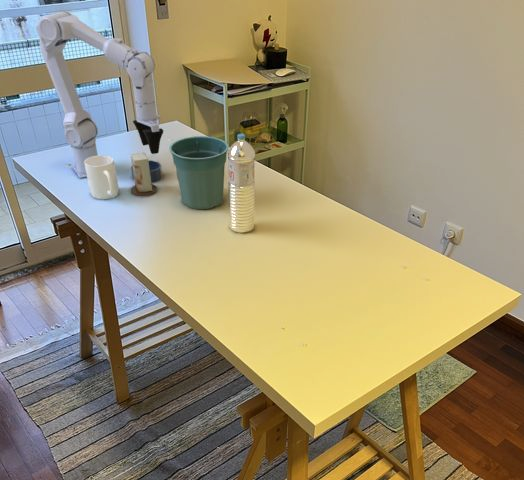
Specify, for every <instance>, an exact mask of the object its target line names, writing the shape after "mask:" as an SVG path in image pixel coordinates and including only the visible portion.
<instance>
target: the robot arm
mask: <svg viewBox="0 0 524 480" xmlns="http://www.w3.org/2000/svg"><path fill="white" fill-rule="evenodd" d="M36 31H37V35H38V36H39V49H40V53H41V55H42V58H43V60H44V63H45V66H46V68H47V70H48V73H49V76H50V78H51V81H52V84H53V87H54V89H55V91H56V95H57V97H58V99H59V102H60V105H61V106H62V109H63V112H64V118H63V121H62V127H63V131H64V138H65V140H66V142H67V143H68V144H69V145H70V147H71V151H72V155H73V160H74V163H75V165H73V166H72V169H73V170H74V171H75V174H77V176H78V178H79V179H83V178H87V173H86V168H85V163H84V161H85V160H86V159H87V158H89V157H93V156H99V154H98V149H97V144H96V142H97V139H96V137H97V136H98V134H99V129H98V125H97V124H96V122H95V121H94V120H93V118H92V116H91V114H90V112H88V111H87V110H85V109H84V108H83V105H82V102H81V100H80V97H79V94H78V91H77V89H76V86H75V84H74V81H73V78H72V75H71V73H70V70H69V67H68V64H67V61H66V59H65V56H64V54H63V51H64V49H65V47H66V45H67V43H68V42H69V41H70V40H75V39H78V40H79V41H81V42H83V43H85V44H87V45H89V46H91V47H93V48H95V49H97V50H99V51H101V52H103V54H104V57H105V59H106V60H108V61H109V62H111V63H113V64H114V65H117V66H118V67H120V68H121V69H123V70H124V71H126V72H127V74H128V76H129V77H130V79H131V84H132V90H133V91H132V92H133V97H134V105H135V116H136V118H135V119H134V120H133V121H132V123H133V125H134V127H135V128H136V130H137V132H138V135H139V138H140V141H141V144H142V146H148V147H149V151H150V154H152V155H154V154H155V155H156V154H159V152H160V144H161V139H162V136H163V134H164V129H163V128H160V124H159V123H158V121H159V120H161V119H162V117H161V115H160V114H157V106H156V97H155V88H154V80H153V79H154V77H153V73H154V71H155V69H156V64H155V63H156V62H155V60H154V58H153V56H151V55H150V54H149V53H148V52H147V51H138V49H137V48H135V47H134V48H132V47H131V46H129V45H127V44H126V43H124V42H123V39H122V38H119V37H118V38H115V37H112V38H107V37H106V36H104V35H102V34H101V33H99V31H97V30H95V29H93V28H92V27H91V26H89V25H87V24H86V23H84V22H83V21H82V20H80V18H79V17H78V15H75V14H72V13H71V12H69V11H67V10H60V11H59V12H56V13H51V14H47V15H43V16H41V17H40V18H39V21H38V22H37V25H36Z"/></svg>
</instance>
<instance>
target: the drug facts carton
mask: <svg viewBox="0 0 524 480" xmlns="http://www.w3.org/2000/svg"><path fill="white" fill-rule="evenodd" d="M130 160H131V166H133V173H134V179H133V180H134V186H136V189H137V191H138V192H139V193H140V192H147V191H152V184H153V183H152V182H151V177H150V169H149V161H148V160H149V157H148V156H147V154H146V152H138V153H131V154H130Z"/></svg>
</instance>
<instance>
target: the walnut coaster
mask: <svg viewBox="0 0 524 480" xmlns="http://www.w3.org/2000/svg"><path fill="white" fill-rule="evenodd" d="M151 184H152V191H147V192H140V193H139V192H138V191H137V189H136V186H135V185H133V186H132V187H130V193H131V194H132V195H133V196H136V197H150V196H153V195H155V194H156V193H158V187H157V186H156V185H155V184H153V183H151Z"/></svg>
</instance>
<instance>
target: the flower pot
mask: <svg viewBox="0 0 524 480" xmlns="http://www.w3.org/2000/svg"><path fill="white" fill-rule="evenodd" d="M229 149H230V145H229V144H228V143H227V141H225V140H224V139H221V138H219V137H214V136H207V135H196V136H188V137H183V138H180V139H176V140H175V141H173V142H172V143H171V144H170V145H169V148H168V150H169V152H170V154H171V156H172V160H173V164H174V166H175V170H176V176H177V181H178V186H179V187H178V188H179V191H180V197H181V202H182V203H183V205H184V206H185V205H186V206H187V207H188V208H189V209H194V210H209V209H213V207H218V206H220V205H221V204H222V203H223V201H224V189H225V188H224V186H225V169H226V163H227V156H228V150H229Z"/></svg>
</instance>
